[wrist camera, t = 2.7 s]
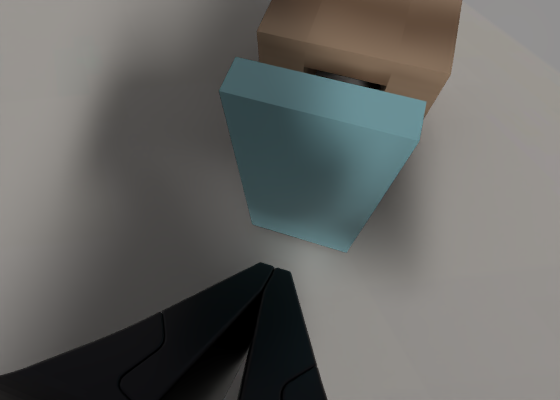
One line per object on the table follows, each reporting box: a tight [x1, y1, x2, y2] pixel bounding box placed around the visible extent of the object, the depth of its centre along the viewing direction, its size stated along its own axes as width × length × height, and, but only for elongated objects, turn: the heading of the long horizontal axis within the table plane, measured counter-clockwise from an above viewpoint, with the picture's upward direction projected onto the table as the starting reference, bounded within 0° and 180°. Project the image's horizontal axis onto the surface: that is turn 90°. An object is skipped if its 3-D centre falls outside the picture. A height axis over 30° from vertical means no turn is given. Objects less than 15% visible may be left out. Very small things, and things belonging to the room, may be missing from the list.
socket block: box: [257, 0, 462, 119], centre depth 19 cm, size 5×9×6 cm, turn 72°
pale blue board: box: [219, 57, 427, 253], centre depth 14 cm, size 6×5×10 cm
